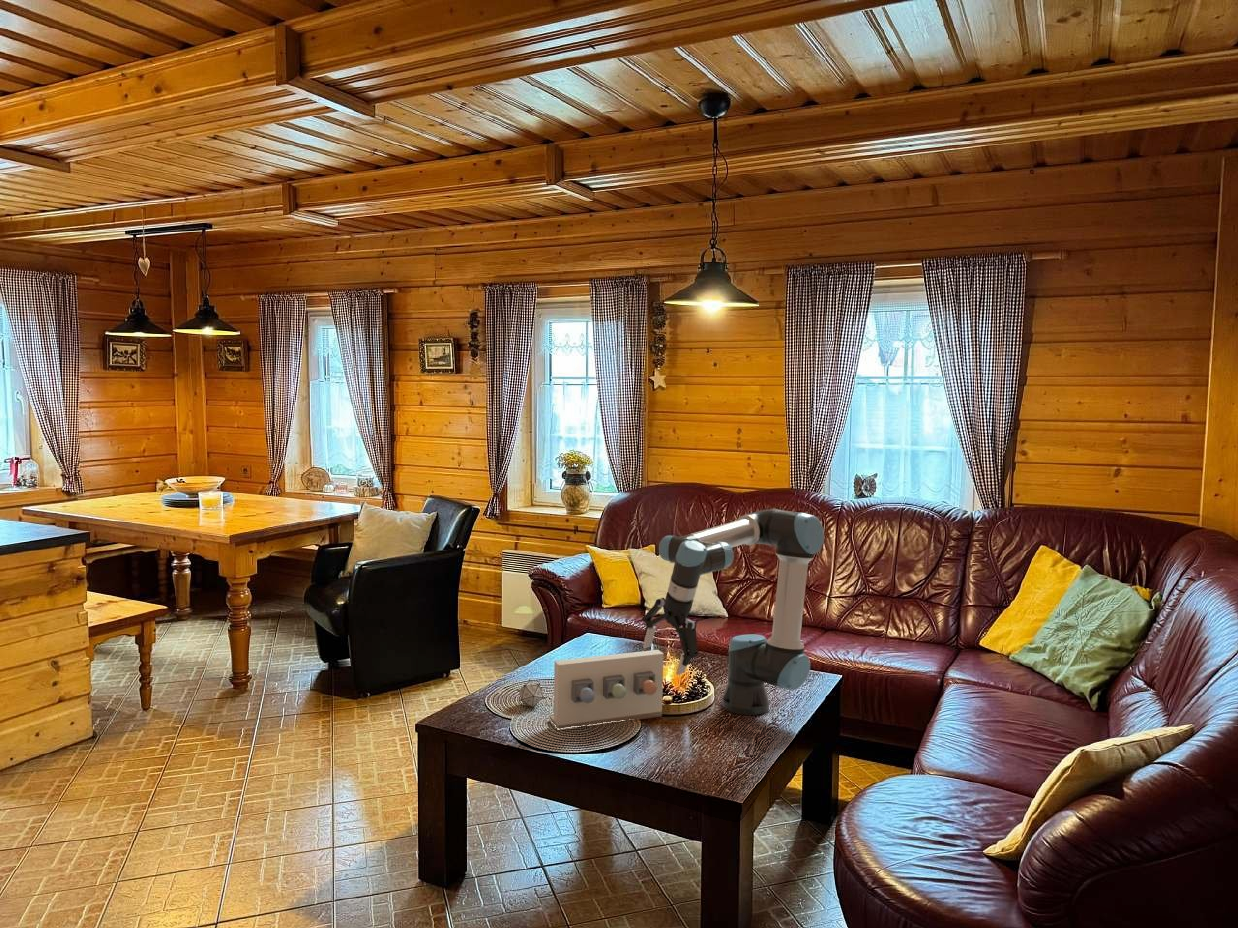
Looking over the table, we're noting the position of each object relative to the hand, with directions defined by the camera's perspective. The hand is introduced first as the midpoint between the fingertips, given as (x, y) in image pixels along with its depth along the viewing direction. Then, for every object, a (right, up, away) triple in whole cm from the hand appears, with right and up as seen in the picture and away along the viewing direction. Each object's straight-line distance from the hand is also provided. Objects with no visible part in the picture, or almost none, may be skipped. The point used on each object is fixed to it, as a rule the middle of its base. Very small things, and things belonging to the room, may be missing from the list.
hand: (663, 659), depth 235 cm
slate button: (-22, -14, +8) cm, 27 cm away
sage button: (-13, -14, +12) cm, 23 cm away
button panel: (-16, -23, +20) cm, 35 cm away
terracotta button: (-3, -14, +16) cm, 21 cm away
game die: (-41, -22, +30) cm, 55 cm away
